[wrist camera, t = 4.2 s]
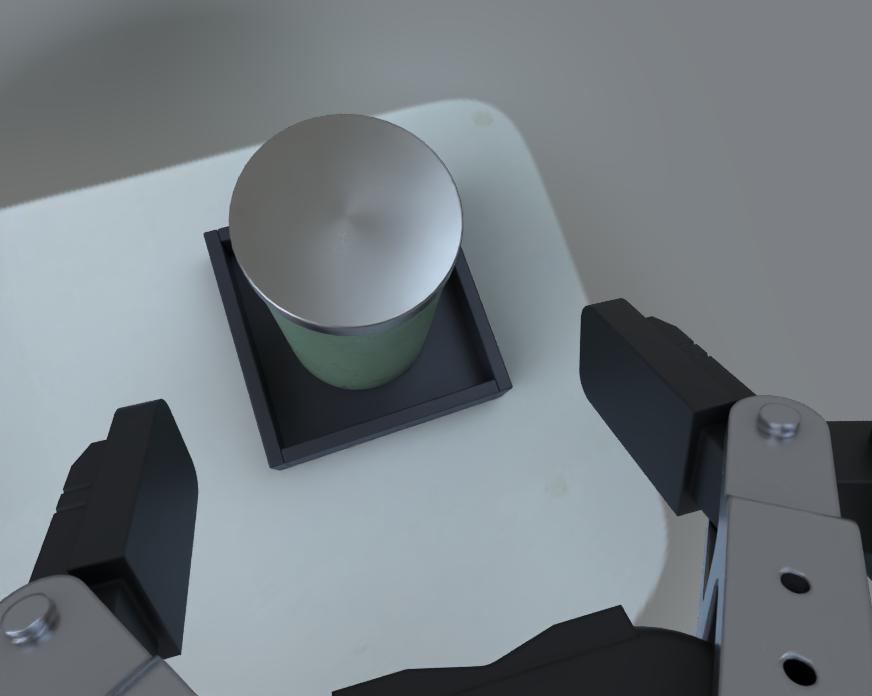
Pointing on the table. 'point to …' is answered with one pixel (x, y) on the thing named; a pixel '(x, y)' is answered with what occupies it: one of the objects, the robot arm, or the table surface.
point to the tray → (343, 408)
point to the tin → (348, 243)
